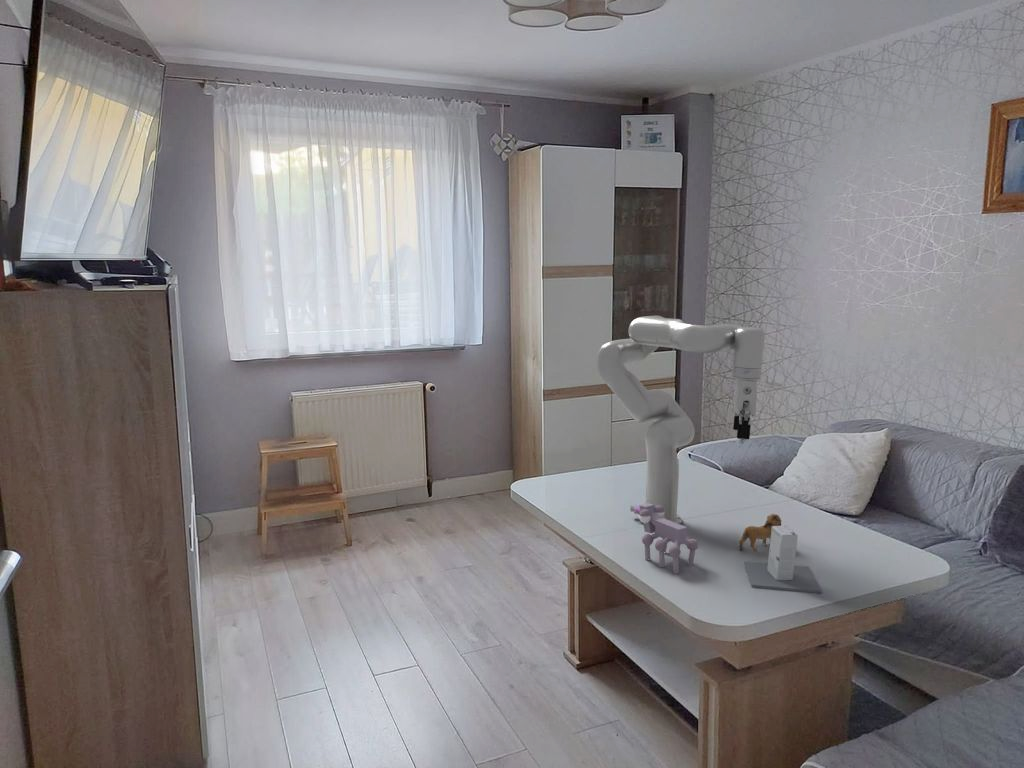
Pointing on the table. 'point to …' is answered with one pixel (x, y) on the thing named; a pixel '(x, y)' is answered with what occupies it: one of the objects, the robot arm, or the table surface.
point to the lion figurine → (760, 532)
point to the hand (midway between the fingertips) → (741, 434)
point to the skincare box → (782, 552)
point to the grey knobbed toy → (664, 534)
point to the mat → (764, 579)
